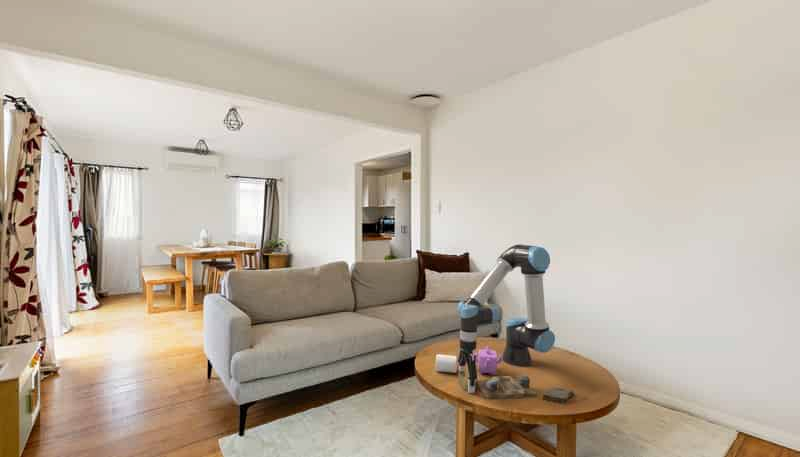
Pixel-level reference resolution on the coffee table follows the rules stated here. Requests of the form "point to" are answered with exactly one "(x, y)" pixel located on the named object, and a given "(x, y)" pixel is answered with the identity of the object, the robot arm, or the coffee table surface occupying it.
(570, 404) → the coffee table surface
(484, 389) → the framed base plate
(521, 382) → the shafts
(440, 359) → the mug
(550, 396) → the stone
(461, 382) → the gold cube
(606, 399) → the coffee table surface
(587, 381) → the coffee table surface
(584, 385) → the coffee table surface
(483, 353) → the teapot
